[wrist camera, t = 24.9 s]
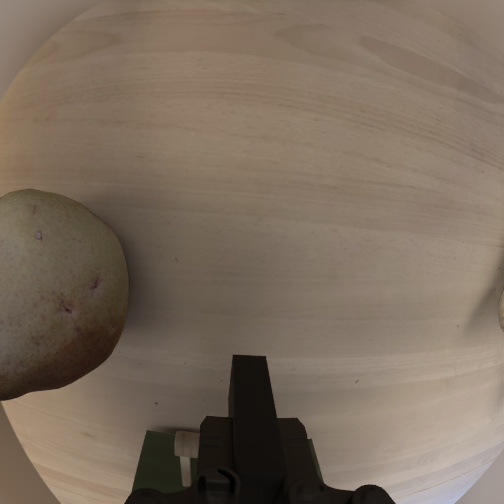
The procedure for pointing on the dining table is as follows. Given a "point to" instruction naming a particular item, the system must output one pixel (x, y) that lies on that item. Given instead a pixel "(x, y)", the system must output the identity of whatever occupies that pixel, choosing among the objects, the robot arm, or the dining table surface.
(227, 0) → the dining table surface
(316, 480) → the robot arm
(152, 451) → the drawer
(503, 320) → the mug
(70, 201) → the fruit
